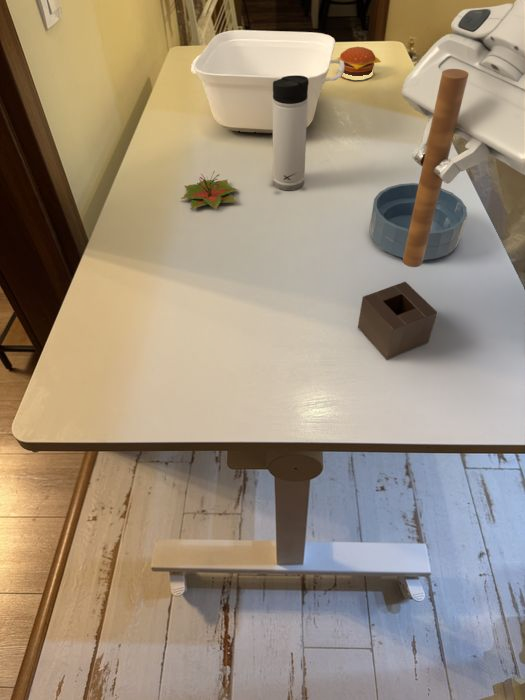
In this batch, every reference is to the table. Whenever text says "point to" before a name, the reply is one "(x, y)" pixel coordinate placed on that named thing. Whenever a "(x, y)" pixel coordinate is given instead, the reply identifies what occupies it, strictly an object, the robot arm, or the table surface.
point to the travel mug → (289, 131)
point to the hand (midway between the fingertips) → (428, 170)
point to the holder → (396, 319)
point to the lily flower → (209, 193)
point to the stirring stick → (434, 162)
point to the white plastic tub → (261, 73)
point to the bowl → (396, 216)
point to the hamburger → (358, 61)
